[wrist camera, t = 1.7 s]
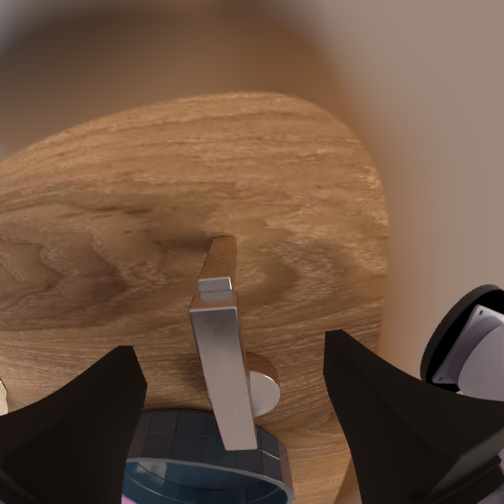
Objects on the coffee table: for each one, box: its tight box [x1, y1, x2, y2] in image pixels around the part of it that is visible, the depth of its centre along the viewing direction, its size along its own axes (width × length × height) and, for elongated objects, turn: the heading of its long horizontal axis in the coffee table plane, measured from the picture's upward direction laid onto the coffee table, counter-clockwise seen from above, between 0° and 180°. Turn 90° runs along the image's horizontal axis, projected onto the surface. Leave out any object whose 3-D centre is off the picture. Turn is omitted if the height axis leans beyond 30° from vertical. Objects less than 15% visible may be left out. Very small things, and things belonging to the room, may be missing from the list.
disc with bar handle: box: [189, 236, 280, 450], centre depth 12 cm, size 10×4×6 cm, turn 5°
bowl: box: [122, 409, 295, 504], centre depth 16 cm, size 14×14×4 cm
